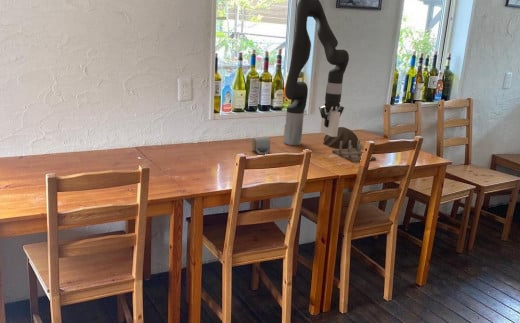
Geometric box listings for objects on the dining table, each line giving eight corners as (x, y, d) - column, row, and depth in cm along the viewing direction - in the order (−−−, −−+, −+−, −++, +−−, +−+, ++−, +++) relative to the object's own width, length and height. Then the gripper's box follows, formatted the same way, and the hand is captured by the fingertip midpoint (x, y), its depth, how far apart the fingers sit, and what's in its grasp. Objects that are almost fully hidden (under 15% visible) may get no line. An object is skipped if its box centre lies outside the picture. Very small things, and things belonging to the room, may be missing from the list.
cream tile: (320, 131, 243) (323, 107, 239) (325, 131, 244) (328, 107, 240) (332, 136, 234) (335, 112, 231) (337, 136, 236) (340, 112, 232)
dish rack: (331, 152, 250) (333, 139, 248) (353, 150, 256) (355, 137, 254) (353, 162, 235) (355, 148, 233) (376, 160, 241) (378, 146, 239)
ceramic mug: (250, 149, 246) (251, 134, 244) (266, 149, 248) (267, 134, 246) (255, 155, 236) (256, 140, 234) (271, 155, 238) (273, 140, 236)
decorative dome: (319, 139, 275) (321, 122, 272) (353, 141, 277) (355, 123, 274) (326, 149, 257) (328, 130, 254) (362, 150, 258) (365, 132, 255)
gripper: (340, 90, 239) (336, 124, 244) (317, 90, 232) (313, 125, 238) (350, 93, 233) (345, 128, 238) (326, 93, 226) (322, 129, 232)
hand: (329, 126), depth 238 cm, fingers closed on cream tile, 3 cm apart
